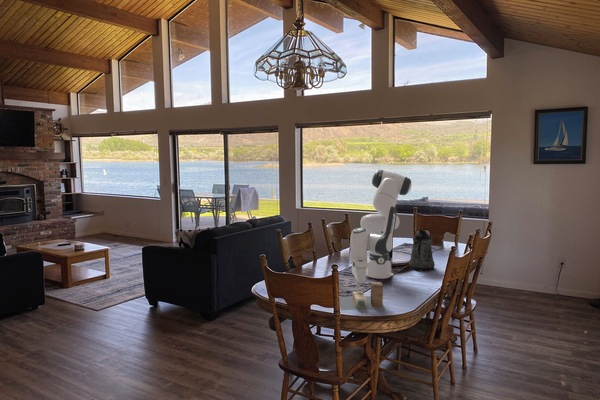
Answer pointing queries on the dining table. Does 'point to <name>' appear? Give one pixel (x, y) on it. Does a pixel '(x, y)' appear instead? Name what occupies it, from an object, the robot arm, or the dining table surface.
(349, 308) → the mat
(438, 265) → the dining table surface
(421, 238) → the beer stein
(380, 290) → the walnut block
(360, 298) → the maple block
